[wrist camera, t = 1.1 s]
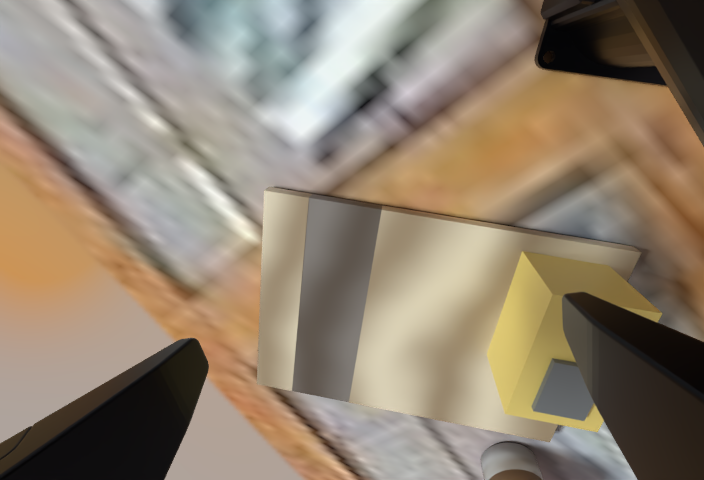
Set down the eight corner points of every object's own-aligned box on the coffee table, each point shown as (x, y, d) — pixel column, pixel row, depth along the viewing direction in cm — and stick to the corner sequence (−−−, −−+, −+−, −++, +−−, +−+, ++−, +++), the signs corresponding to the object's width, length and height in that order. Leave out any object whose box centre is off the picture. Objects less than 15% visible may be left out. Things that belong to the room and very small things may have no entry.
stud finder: (608, 265, 20) (666, 317, 15) (562, 368, 23) (600, 437, 18) (522, 251, 20) (555, 298, 16) (486, 354, 23) (506, 418, 19)
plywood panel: (633, 246, 20) (641, 252, 19) (545, 432, 26) (549, 442, 25) (269, 186, 21) (264, 190, 21) (260, 375, 27) (256, 384, 26)
